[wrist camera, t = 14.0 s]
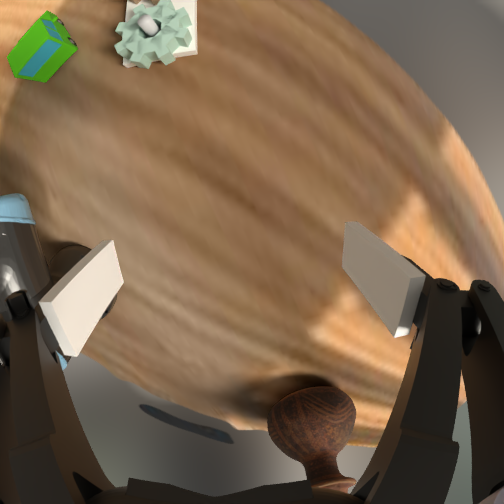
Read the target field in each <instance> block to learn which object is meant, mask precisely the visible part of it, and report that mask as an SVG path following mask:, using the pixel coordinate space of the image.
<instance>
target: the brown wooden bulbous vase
mask: <svg viewBox="0 0 504 504" xmlns="http://www.w3.org/2000/svg"><path fill="white" fill-rule="evenodd" d="M355 419H356V409H355V406H354V403H353V401H352V400H351V398H350V397H349V396H348V395H347V394H346V393H344V392H343V391H341V390H340V389H338V388H335V387H309V388H305V389H302V390H299V391H296V392H293V393H291V394H289V395H287V396H286V397H284V398H283V399H281V400H280V401H279V402H278V403H276V404H275V405H274V406H273V407H272V409H271V411H270V413H269V415H268V421H267V424H268V432H269V435H270V437H271V439H272V441H273V442H274V443H275V445H276V446H277V447H278V448H279V449H280V450H281V451H282V452H283V453H285V454H286V455H287V456H289V457H290V458H292V459H294V460H297V461H299V462H301V463H302V464H303V466H304V467H305V471H306V476H307V480H309V479H310V483H311V487H320V488H328V489H333V490H338V491H342V492H345V493H347V491H348V488H349V487H351V486H353V485H355V484H356V480H355V479H353V478H350V477H345V476H343V475H341V473H340V472H339V470H338V466H337V462H336V457H337V454H338V453H339V452H340V451H341V450H342V449H343V448H344V447H345V445H346V444H347V442H348V440H349V438H350V436H351V433H352V430H353V427H354V423H355Z"/></svg>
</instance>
